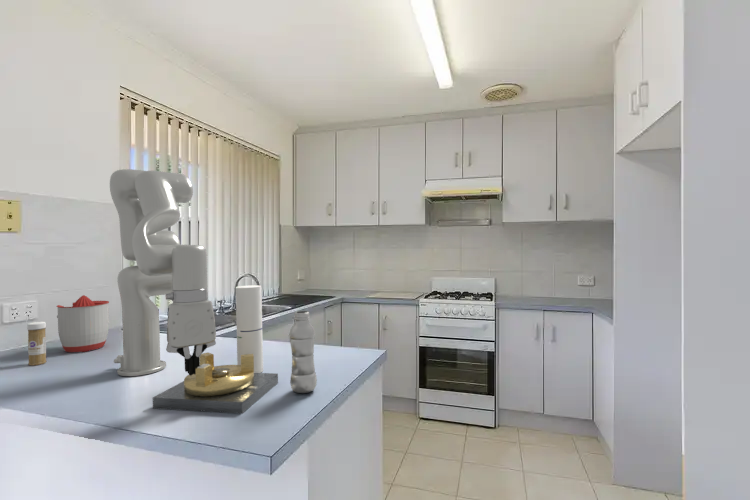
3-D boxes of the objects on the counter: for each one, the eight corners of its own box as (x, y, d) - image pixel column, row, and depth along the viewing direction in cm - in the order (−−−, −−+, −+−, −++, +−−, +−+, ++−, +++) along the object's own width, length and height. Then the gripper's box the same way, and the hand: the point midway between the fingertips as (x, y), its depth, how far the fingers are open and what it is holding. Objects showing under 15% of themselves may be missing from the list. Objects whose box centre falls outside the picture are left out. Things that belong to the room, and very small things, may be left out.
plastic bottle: (305, 398, 93) (303, 315, 92) (284, 393, 96) (282, 312, 96) (322, 389, 98) (320, 310, 98) (302, 385, 102) (300, 309, 101)
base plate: (152, 408, 88) (152, 395, 88) (203, 379, 107) (202, 369, 107) (242, 413, 85) (242, 400, 85) (278, 382, 104) (277, 372, 103)
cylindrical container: (255, 376, 109) (253, 288, 109) (232, 375, 111) (230, 287, 110) (267, 368, 116) (265, 285, 116) (245, 367, 118) (244, 285, 117)
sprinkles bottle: (25, 366, 123) (24, 324, 122) (31, 362, 127) (30, 322, 127) (43, 364, 124) (42, 323, 124) (49, 361, 128) (48, 320, 128)
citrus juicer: (79, 343, 152) (78, 292, 152) (120, 343, 150) (119, 292, 150) (41, 354, 137) (39, 298, 136) (86, 355, 135) (85, 298, 135)
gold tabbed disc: (168, 394, 89) (168, 366, 89) (209, 371, 105) (208, 348, 105) (233, 397, 87) (232, 368, 87) (264, 373, 103) (264, 349, 102)
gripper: (157, 301, 85) (159, 385, 85) (227, 295, 94) (229, 370, 94) (152, 298, 91) (154, 376, 91) (218, 292, 100) (220, 363, 100)
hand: (192, 373), depth 92 cm, fingers closed
